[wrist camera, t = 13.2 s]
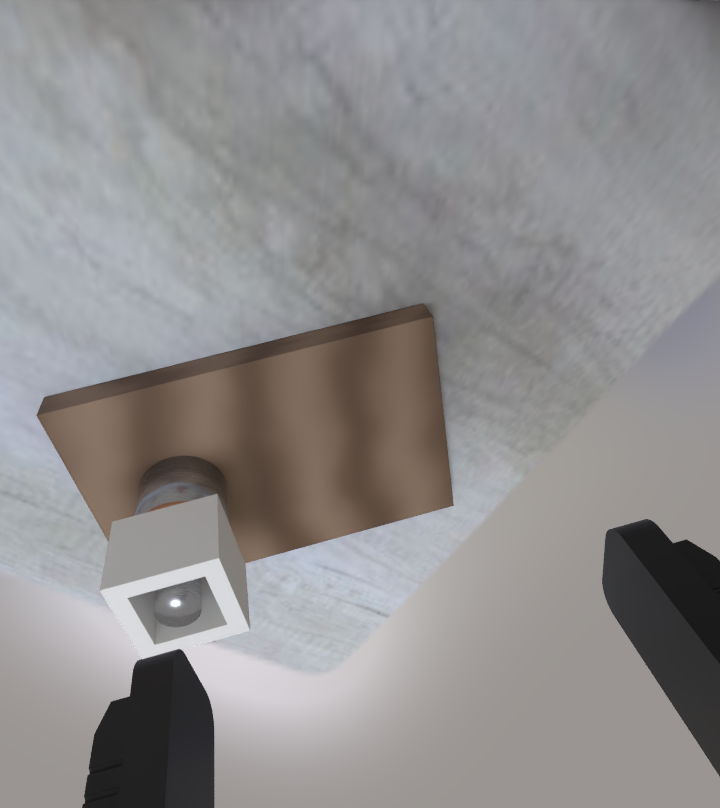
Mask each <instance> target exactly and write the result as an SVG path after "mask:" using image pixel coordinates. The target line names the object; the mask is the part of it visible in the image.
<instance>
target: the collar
mask: <svg viewBox="0 0 720 808" xmlns="http://www.w3.org/2000/svg"><path fill="white" fill-rule="evenodd" d="M198 578H202V612H201V615H200V617H199V618H198V619H197V620H196V621H195V622H193V623H191V624H189V625H186V626H183V627H169V626H165V625H163V624H161V623H159V622H158V621H157V620H156V618H155V616H154V608H155V596H156V590H158V589H162V588H165V587H169V586H173V585H176V584H180V583H184V582H187V581H191V580H194V579H198ZM100 592H101V594H102V595H103V597H104V599H105V600H106V602H107V603H108V605H109V607H110V608H111V610H112V611H113V613H114V615H115V616H116V618H117V620H118V621H119V623H120V624H121V626H122V627H123V629H124V631H125V632H126V634H127V636H128V637H129V639H130V641H131V642H132V644H133V645H134V647H135V649H136V650H137V652H138V653H139V655H140V657H141V658H142V659H145V658H148V657H152V656H156V655H159V654H163V653H166V652H170V651H173V650H177V649H181V650H184V649H187V648H191V647H194V646H198V645H201V644H205V643H208V642H212V641H215V640H219V639H222V638H226V637H229V636H233V635H236V634H240V633H243V632H247V631H250V621H249V607H248V593H247V579H246V565H245V562H244V559H243V557H242V554H241V552H240V549H239V547H238V544H237V542H236V539H235V537H234V534H233V532H232V529H231V527H230V524H229V522H228V519H227V517H226V514H225V512H224V509H223V507H222V504H221V502H220V499H219V497H218V494H215V495H211V496H207V497H203V498H199V499H196V500H192V501H188V502H184V503H181V504H177V505H173V506H169V507H166V508H162V509H158V510H154V511H151V512H147V513H143V514H139V515H135V516H132V517H128V518H124V519H120V520H117V521H113V522H112V526H111V531H110V537H109V542H108V548H107V553H106V559H105V564H104V570H103V575H102V581H101V586H100Z"/></svg>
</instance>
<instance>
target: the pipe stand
mask: <svg viewBox="0 0 720 808" xmlns="http://www.w3.org/2000/svg"><path fill="white" fill-rule="evenodd" d="M37 417H38V419H39V420H40V422H41V424H42V426H43V427H44V429H45V431H46V433H47V435H48V436H49V438H50V440H51V442H52V443H53V445H54V447H55V449H56V450H57V452H58V454H59V456H60V457H61V459H62V461H63V463H64V464H65V466H66V468H67V470H68V471H69V473H70V475H71V477H72V478H73V480H74V482H75V484H76V486H77V487H78V489H79V491H80V493H81V494H82V496H83V498H84V500H85V501H86V503H87V505H88V507H89V508H90V510H91V512H92V514H93V515H94V517H95V519H96V521H97V522H98V524H99V526H100V528H101V529H102V531H103V533H104V535H105V537H106V538H107V540H108V542H109V537H110V531H111V526H112V522H113V521H117V520H120V519H124V518H128V517H132V516H135V515H139V514H143V513H147V512H151V511H154V510H158V509H162V508H166V507H169V506H173V505H177V504H181V503H184V502H188V501H192V500H196V499H199V498H203V497H207V496H211V495H215V494H218V497H219V499H220V502H221V504H222V507H223V509H224V512H225V514H226V517H227V519H228V522H229V524H230V527H231V529H232V532H233V534H234V537H235V539H236V542H237V544H238V547H239V549H240V552H241V554H242V557H243V559H244V562H245V563H247V562H251V561H255V560H258V559H262V558H265V557H269V556H273V555H276V554H280V553H284V552H287V551H291V550H294V549H298V548H302V547H305V546H309V545H312V544H316V543H320V542H323V541H327V540H331V539H334V538H338V537H341V536H345V535H349V534H352V533H356V532H360V531H363V530H367V529H370V528H374V527H378V526H381V525H385V524H389V523H392V522H396V521H399V520H403V519H407V518H410V517H414V516H417V515H421V514H425V513H428V512H432V511H436V510H439V509H443V508H446V507H450V506H454V505H453V496H452V487H451V478H450V469H449V460H448V451H447V441H446V432H445V423H444V414H443V405H442V396H441V387H440V378H439V369H438V360H437V351H436V341H435V332H434V323H433V316H432V315H431V313H430V312H429V311H428V309H427V308H426V307H425V305H424V304H420V305H416V306H412V307H408V308H404V309H400V310H396V311H392V312H388V313H384V314H380V315H376V316H371V317H367V318H363V319H359V320H355V321H351V322H347V323H343V324H339V325H335V326H331V327H327V328H323V329H319V330H315V331H311V332H307V333H303V334H299V335H295V336H291V337H287V338H283V339H279V340H275V341H271V342H266V343H262V344H258V345H254V346H250V347H246V348H242V349H238V350H234V351H230V352H226V353H222V354H218V355H214V356H210V357H206V358H202V359H198V360H194V361H190V362H186V363H182V364H178V365H174V366H170V367H166V368H161V369H157V370H153V371H149V372H145V373H141V374H137V375H133V376H129V377H125V378H121V379H117V380H113V381H109V382H105V383H101V384H97V385H93V386H89V387H85V388H81V389H77V390H73V391H69V392H65V393H61V394H56V395H52V396H48V397H44V399H43V401H42V404H41V406H40V409H39V411H38V413H37ZM201 612H202V578H198V579H194V580H191V581H187V582H184V583H180V584H176V585H173V586H169V587H165V588H162V589H158V590H156V596H155V608H154V616H155V618H156V620H157V621H158V622H159V623H161V624H163V625H165V626H169V627H183V626H186V625H189V624H191V623H193V622H195V621H196V620H197V619H198V618H199V617H200V615H201Z"/></svg>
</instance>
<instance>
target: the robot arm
mask: <svg viewBox="0 0 720 808" xmlns="http://www.w3.org/2000/svg"><path fill="white" fill-rule="evenodd" d="M697 1H720V0H697ZM602 584H603V590H604V594H605V597H606V600H607V603H608V605H609V607H610V609H611V611H612V613H613V614H614V616H615V618H616V619H617V621H618V622H619V624H620V625H621V627H622V628H623V630H624V631H625V633H626V635H627V636H628V638H629V639H630V641H631V642H632V644H633V645H634V647H635V648H636V650H637V651H638V653H639V654H640V656H641V657H642V659H643V660H644V662H645V663H646V665H647V666H648V668H649V669H650V671H651V673H652V674H653V675H654V677H655V679H656V680H657V682H658V683H659V685H660V686H661V688H662V689H663V691H664V692H665V694H666V695H667V697H668V698H669V700H670V701H671V703H672V704H673V706H674V707H675V709H676V711H677V712H678V713H679V715H680V717H681V718H682V720H683V721H684V723H685V724H686V725H687V727H688V729H689V730H690V732H691V733H692V735H693V736H694V738H695V739H696V741H697V742H698V744H699V745H700V747H701V749H702V750H703V751H704V753H705V755H706V756H707V758H708V759H709V760H710V762H711V764H712V765H713V767H714V768H715V770H716V771H717V773H718V774H719V776H720V561H719V560H718V559H717V558H716V557H715V556H713V555H711V554H710V553H708V552H706V551H705V550H703V549H701V548H700V547H698V546H696V545H695V544H693V543H692V542H690V541H688V540H684V541H680V542H676V543H672V542H671V541H670V540H669V538H668V537H667V536H666V535H665V534H664V533H663V531H662V530H661V529H660V528H659V527H658V526H657V525H656V524H655V523H654V522H653V521H651V520H648V519H645V520H642V521H638V522H635V523H631V524H627V525H624V526H620V527H617V528H613V529H610V530H608V531H607V533H606V539H605V552H604V565H603V578H602ZM89 770H90V774H89V775H88V777H87V783H86V790H85V795H84V797H85V804H83V807H82V808H214V721H213V714H212V708H211V704H210V700H209V698H208V695H207V693H206V691H205V689H204V687H203V685H202V684H201V682H200V680H199V678H198V677H197V675H196V673H195V671H194V670H193V668H192V666H191V664H190V662H189V661H188V659H187V657H186V655H185V654H184V652H183V651H182V650H181V649H177V650H173V651H170V652H166V653H163V654H159V655H156V656H152V657H148V658H145V659H141V660H139V661H137V662H136V664H135V666H134V669H133V676H132V685H131V693H130V697H126V698H123V699H119V700H116V701H112V702H111V703H110V705H109V707H108V709H107V711H106V713H105V715H104V717H103V719H102V721H101V723H100V725H99V726H98V729H97V730H96V733H95V735H94V740H93V746H92V752H91V758H90V764H89Z"/></svg>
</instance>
